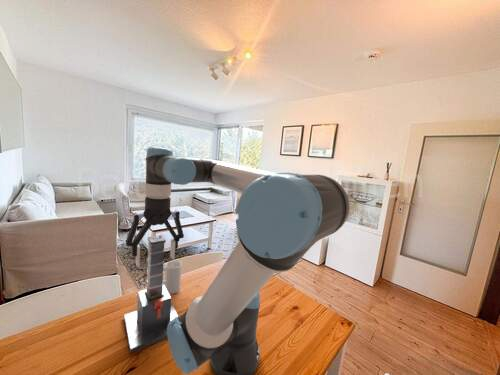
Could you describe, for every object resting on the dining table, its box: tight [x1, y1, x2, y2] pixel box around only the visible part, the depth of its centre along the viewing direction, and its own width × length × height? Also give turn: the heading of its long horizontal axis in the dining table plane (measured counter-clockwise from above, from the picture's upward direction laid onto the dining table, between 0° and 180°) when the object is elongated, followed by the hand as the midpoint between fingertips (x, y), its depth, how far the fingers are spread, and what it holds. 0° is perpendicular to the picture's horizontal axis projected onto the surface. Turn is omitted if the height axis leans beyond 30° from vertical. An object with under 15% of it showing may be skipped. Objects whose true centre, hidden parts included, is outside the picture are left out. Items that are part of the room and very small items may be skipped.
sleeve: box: [123, 284, 179, 354], centre depth 72 cm, size 16×16×12 cm
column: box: [146, 234, 167, 301], centre depth 70 cm, size 5×5×22 cm
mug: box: [163, 260, 183, 295], centre depth 92 cm, size 10×7×12 cm, turn 99°
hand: (155, 261), depth 70 cm, fingers open, 10 cm apart
